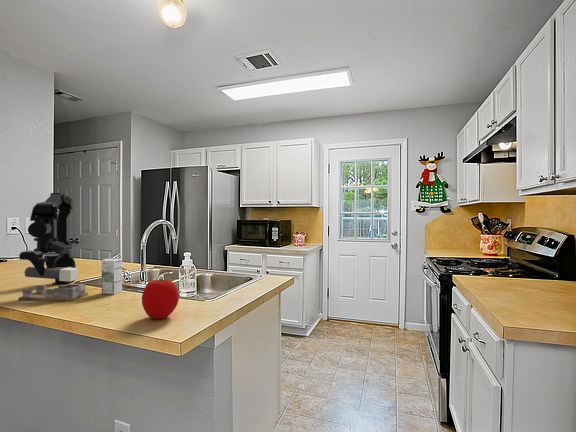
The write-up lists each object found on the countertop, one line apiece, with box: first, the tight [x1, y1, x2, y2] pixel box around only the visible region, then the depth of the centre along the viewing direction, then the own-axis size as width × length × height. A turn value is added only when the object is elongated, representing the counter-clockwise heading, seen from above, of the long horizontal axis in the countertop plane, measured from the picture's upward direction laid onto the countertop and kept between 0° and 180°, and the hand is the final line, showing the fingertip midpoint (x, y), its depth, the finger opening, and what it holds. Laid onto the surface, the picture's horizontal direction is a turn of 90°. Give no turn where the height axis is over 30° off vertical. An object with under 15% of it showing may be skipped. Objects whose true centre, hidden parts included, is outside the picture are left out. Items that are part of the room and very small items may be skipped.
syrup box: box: [101, 257, 123, 295], centre depth 135 cm, size 6×6×14 cm
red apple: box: [141, 278, 180, 320], centre depth 104 cm, size 11×11×13 cm
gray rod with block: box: [24, 266, 79, 281], centre depth 127 cm, size 18×4×4 cm, turn 89°
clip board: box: [18, 283, 89, 302], centre depth 127 cm, size 9×21×4 cm, turn 89°
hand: (45, 274), depth 127 cm, fingers closed on gray rod with block, 4 cm apart
